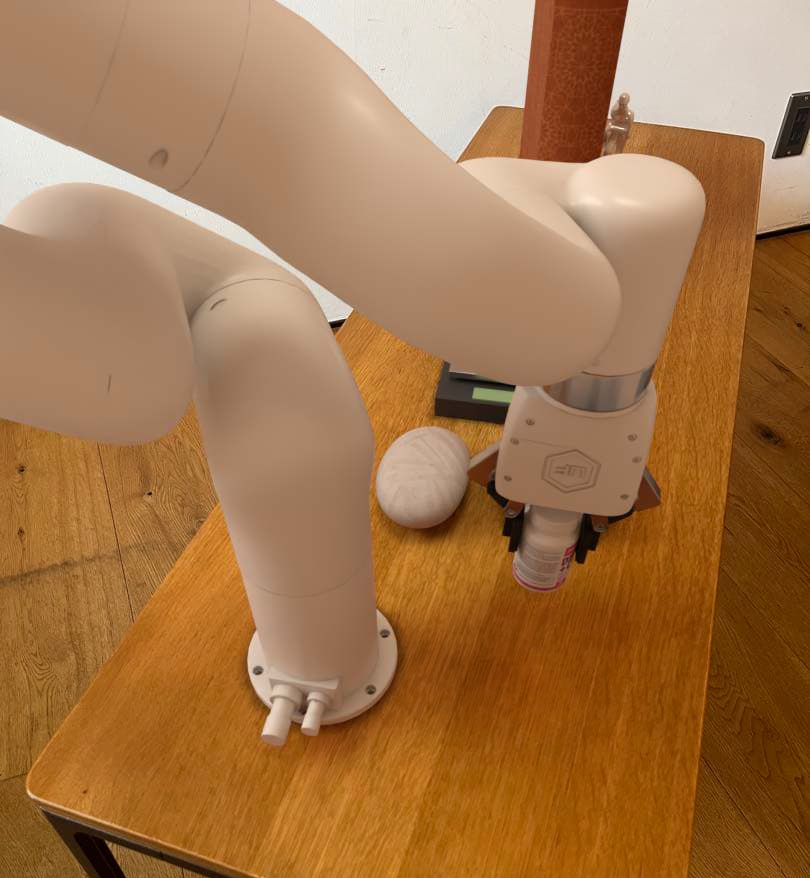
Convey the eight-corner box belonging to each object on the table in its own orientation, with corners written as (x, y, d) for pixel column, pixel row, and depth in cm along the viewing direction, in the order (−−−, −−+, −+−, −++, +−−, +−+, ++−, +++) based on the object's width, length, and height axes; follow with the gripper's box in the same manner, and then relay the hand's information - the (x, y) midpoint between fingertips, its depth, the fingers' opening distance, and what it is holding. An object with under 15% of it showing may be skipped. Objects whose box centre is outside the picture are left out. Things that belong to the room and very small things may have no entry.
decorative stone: (403, 441, 84) (402, 405, 80) (484, 461, 82) (487, 425, 78) (358, 527, 76) (355, 492, 72) (446, 551, 74) (448, 516, 70)
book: (517, 171, 123) (541, -64, 100) (570, 171, 123) (606, -64, 100) (526, 248, 109) (556, -6, 86) (585, 249, 108) (632, -6, 85)
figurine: (628, 164, 125) (645, 82, 115) (614, 190, 119) (631, 106, 110) (599, 159, 126) (613, 78, 117) (584, 185, 120) (598, 101, 111)
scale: (561, 431, 85) (565, 411, 83) (434, 415, 87) (434, 395, 85) (570, 347, 94) (573, 328, 92) (454, 335, 96) (455, 315, 94)
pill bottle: (565, 599, 66) (585, 532, 59) (508, 589, 66) (523, 522, 60) (569, 556, 69) (588, 488, 62) (514, 547, 69) (529, 479, 63)
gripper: (455, 380, 49) (437, 562, 63) (732, 421, 47) (651, 599, 61) (471, 314, 54) (451, 496, 68) (723, 348, 52) (650, 528, 66)
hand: (547, 543), depth 64 cm, fingers closed on pill bottle, 4 cm apart
